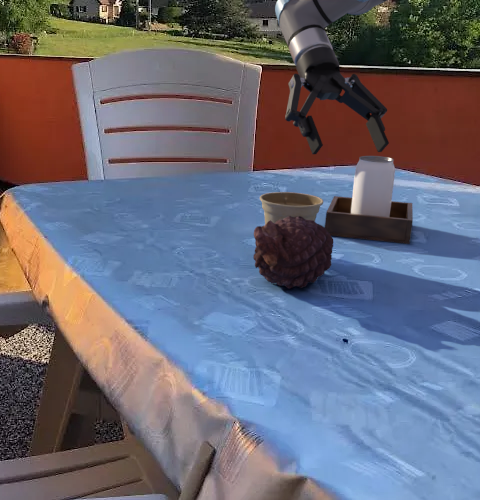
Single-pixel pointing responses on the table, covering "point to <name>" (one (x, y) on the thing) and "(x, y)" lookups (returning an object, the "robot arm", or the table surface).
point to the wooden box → (369, 222)
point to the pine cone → (292, 251)
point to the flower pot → (289, 205)
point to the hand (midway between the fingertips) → (351, 148)
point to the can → (373, 186)
